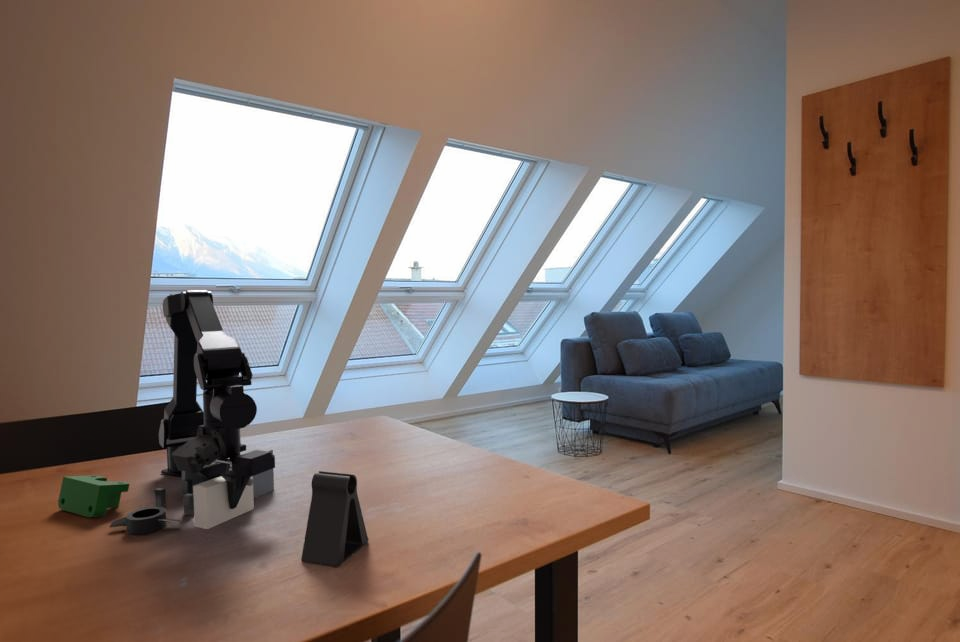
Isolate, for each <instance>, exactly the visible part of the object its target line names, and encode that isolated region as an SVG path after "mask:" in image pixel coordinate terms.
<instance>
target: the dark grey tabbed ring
mask: <svg viewBox="0 0 960 642" xmlns="http://www.w3.org/2000/svg"><path fill="white" fill-rule="evenodd" d="M183 520H184V519H183V518H180V519H179V518H177V519H175V518H167V509H166V508H163V507H155V506H148V507H142V508H139V509H135V510H133V511H131V512H129V513H127V514H126V515H125V516H124V517H121V518H118V519H116V520H114V521H112V522H111V523H110V525H109V529H110V528H116V527H117V528H118V527H126V534H127V535H129V536H130V537H132V536H133V537H143V536H149V535H152V534H156V533H159V532H162V531H163V530H165V529H166V528H167V526H168V525H167V524H168V523H177V522H178V523H180V522H181V521H183Z"/></svg>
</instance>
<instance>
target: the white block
mask: <svg viewBox="0 0 960 642" xmlns="http://www.w3.org/2000/svg"><path fill="white" fill-rule="evenodd" d="M193 495H194V518H193V520H194V527H196V528H201V529H204V530H209V529H211V528H214V527H216V526H218V525H220V524H223V523H225V522H227V521H229V520H232V519H233V518H235V517H239V516H240V515H243V514H245V513H248V512H249V511H252V510H254V509H255V506H254V505H255V503H254V502H255V500H254V499H255V498H254V496H253V476H251V477H250V479H249V481H248V483H247V485H246V487H245V489H244V491H243V493H242V496H241V498H240V500H239V502H238V505H237V507H236V508H234V509H230V506H229V501H228V490H227V481H226V480H225V479H224V478H223V477H222V476H219V477H216V478H214V479H211V480H208V481H205V482H202V483H200V484H197V485H194V486H193Z"/></svg>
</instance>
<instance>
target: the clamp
mask: <svg viewBox="0 0 960 642" xmlns="http://www.w3.org/2000/svg"><path fill="white" fill-rule="evenodd" d="M107 480H108V477H104V476H102V475H72V476H63V477H62V482H61V487H60V491H59V496H58V501H57V502H58V503H57V505H58V508H59V509H60V510H62V511H66V512H68V513H73V514H76V515H79V516H83V517H86V518H97V517H98V518H99V517H104V516H105V515H106V513H107V511H108V509H113V508H116V509H117V508H119V506H120V501H121V497H122V493H127V492H129V487H130V482H127V481H123V480H120V481H119V480H118V481H110V480H109V481H107Z"/></svg>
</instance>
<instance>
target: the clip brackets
mask: <svg viewBox="0 0 960 642" xmlns="http://www.w3.org/2000/svg"><path fill="white" fill-rule="evenodd" d="M181 488H182V489H181V491H182V493H181V494H182V499H183V515H184V516H187V517H192V516H193V515H194V495H193V493H192V480H191V479H184V480H182V479H181ZM166 498H167V497H166V488H163V487H157V488H154V501H155V502H154V504H155V506H154V507H163V508H165V509H166V508H167V501H166V500H167V499H166Z"/></svg>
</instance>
